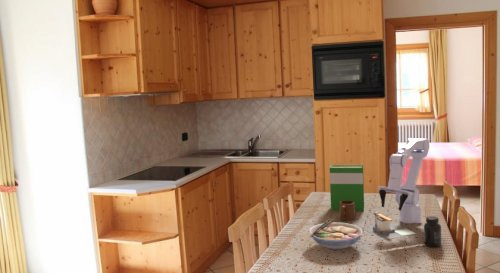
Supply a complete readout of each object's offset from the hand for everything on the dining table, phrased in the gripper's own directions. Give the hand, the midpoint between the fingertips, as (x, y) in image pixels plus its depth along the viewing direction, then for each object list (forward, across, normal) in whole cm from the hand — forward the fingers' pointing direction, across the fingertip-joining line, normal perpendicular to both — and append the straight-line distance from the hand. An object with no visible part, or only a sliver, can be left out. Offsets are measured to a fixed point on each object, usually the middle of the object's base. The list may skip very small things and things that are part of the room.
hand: (391, 208), depth 206 cm
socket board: (+11, +1, +5) cm, 12 cm away
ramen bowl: (+22, -23, -11) cm, 33 cm away
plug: (+10, -1, +5) cm, 11 cm away
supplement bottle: (+13, +17, -12) cm, 24 cm away
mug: (+9, -16, +22) cm, 29 cm away
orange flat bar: (+5, -3, +4) cm, 6 cm away
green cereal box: (+1, -14, +44) cm, 46 cm away
